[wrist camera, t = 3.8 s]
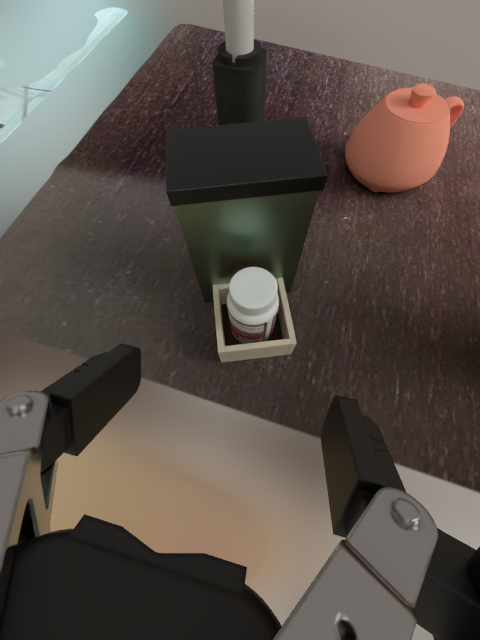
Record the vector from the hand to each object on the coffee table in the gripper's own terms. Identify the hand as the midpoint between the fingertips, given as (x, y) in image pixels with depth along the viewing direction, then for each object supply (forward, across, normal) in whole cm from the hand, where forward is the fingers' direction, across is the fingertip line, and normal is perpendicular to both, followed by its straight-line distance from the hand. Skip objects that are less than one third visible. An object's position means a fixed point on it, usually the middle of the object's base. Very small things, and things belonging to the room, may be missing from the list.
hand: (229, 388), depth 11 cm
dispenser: (+22, +3, 0) cm, 23 cm away
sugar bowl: (+38, -13, -16) cm, 43 cm away
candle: (+36, +8, -13) cm, 39 cm away
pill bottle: (+18, +1, +5) cm, 19 cm away
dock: (+18, +1, +5) cm, 19 cm away
